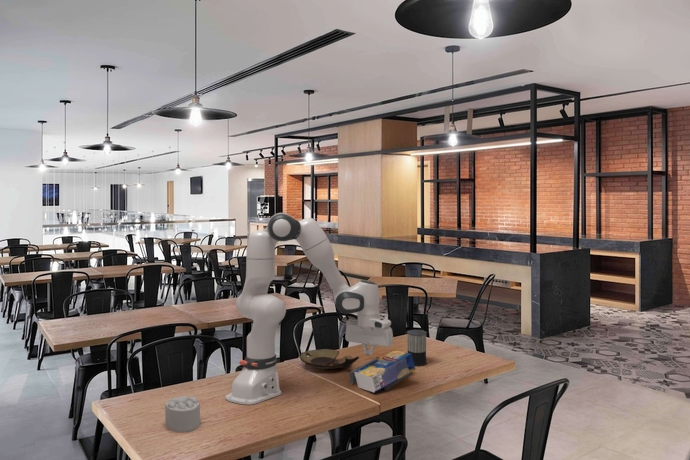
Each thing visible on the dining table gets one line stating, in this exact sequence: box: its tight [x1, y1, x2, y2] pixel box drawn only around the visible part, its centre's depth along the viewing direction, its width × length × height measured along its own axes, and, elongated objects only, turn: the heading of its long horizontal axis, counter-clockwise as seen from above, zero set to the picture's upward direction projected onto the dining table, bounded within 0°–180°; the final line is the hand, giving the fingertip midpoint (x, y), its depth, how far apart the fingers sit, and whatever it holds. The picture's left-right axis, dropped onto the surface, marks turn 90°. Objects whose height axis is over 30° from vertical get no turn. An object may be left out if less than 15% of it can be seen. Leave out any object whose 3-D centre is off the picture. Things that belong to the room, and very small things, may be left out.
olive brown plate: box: [299, 348, 360, 370], centre depth 245 cm, size 22×30×8 cm
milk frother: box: [406, 329, 428, 367], centre depth 252 cm, size 14×16×15 cm
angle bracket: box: [349, 356, 413, 391], centre depth 230 cm, size 25×17×5 cm
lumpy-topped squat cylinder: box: [164, 395, 201, 433], centre depth 182 cm, size 10×13×9 cm
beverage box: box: [354, 349, 416, 393], centre depth 220 cm, size 7×11×22 cm
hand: (368, 354), depth 219 cm, fingers closed
